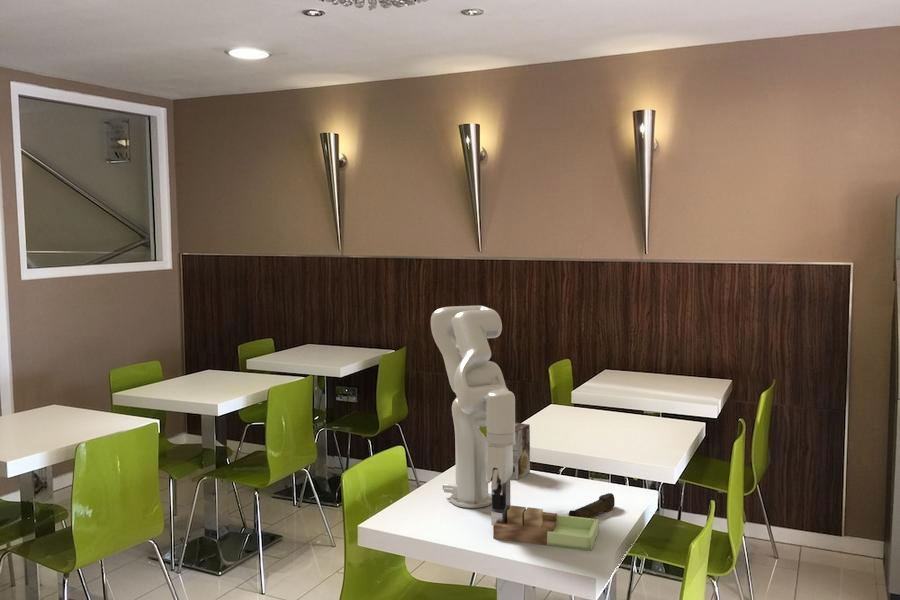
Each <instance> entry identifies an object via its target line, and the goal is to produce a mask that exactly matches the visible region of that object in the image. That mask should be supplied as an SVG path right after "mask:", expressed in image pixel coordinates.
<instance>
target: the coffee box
mask: <svg viewBox="0 0 900 600" xmlns="http://www.w3.org/2000/svg"><path fill="white" fill-rule="evenodd" d="M530 428H531V427H530V424H528V423H522V422H516V421H515V445H512V447H513V473H512V476H511V477H510V480H520V479H521V478H523V477H525V476H526V475H528V474H530V472H531V439H530V438H531V437H530V436H531V435H530V434H531V433H530V432H531V430H530Z"/></svg>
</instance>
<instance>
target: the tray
mask: <svg viewBox="0 0 900 600" xmlns="http://www.w3.org/2000/svg"><path fill="white" fill-rule="evenodd" d="M599 532H600V519H597V518H592V517H591V518H582V517H573V516H569V515H565V514H563V515H562V514H557V526H556V527H555V529H554V531H553V532H550V531H548V532H547V545H546V546H552V547H559V548H560V547H561V548H565V549H566V548H567V549H569V548H570V549H574V550H582V551H583V550H584V551H592V549H593V546H594V544H595V542H596V540H595V539H597V537H598V535H599ZM597 534H598V535H597Z"/></svg>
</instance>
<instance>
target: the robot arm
mask: <svg viewBox="0 0 900 600" xmlns="http://www.w3.org/2000/svg"><path fill="white" fill-rule="evenodd" d="M430 329H431V334H432V337H433V340H434V343H435V344H436V346H437V348H438V349H439V352H440V353H441V355H442V358H443V362H444V366H445V370H446V373H447V377H448V382H449V385H450V387H451V390H452V392H454V393H455V395H456V397H455V399H454V400H453V401H452V405H451V416H452V420H453V426H454V439H455V441H454V442H455V446H454V447H455V483H453V484H450V483H443V484H442V490H443V492H444V493H447V494H448V493H450V494H451V495H450V503H451V504H453V505H455V506H457V507H460V508H467V509H478V508H479V509H480V508H484V507H488V506H490V505H491V509H492V508H493V509H499V510H504V509H505V494H503V491H504V483H505V482H506V481H507V480H508V479H509V478H510V477H511V476H512V473H513V447H512V445H515V422H516V396H515V394H514V393H513V392H512V391H510V390H509V389H508V387H507V385H506V381H505V379H504V375H503V372H502V370H501V368H500V366H499V365H498V364H497V363H496V362H494V361H491V360H490V359H491V358H492V350H491V346H490V344H489V341H488V339H496V338H498V337H499V336H500V335H501V333H502V330H503V324H502V319H501V316H500V315H499V313H498V312H497V311H496V310H495V309H493V308H490V307H487V306H485V305H458V306H457V305H456V306H445V307H440V308H437V309H436V310H434V311H433V312H432V314H431V316H430ZM481 427H482V428H483V427H485V428H486V436H485V434H484V433H483V432H482V431H481V430H480V428H481ZM492 477H493V479H492ZM510 479H511V478H510ZM498 480H500V481H501V482H498ZM489 483H491V485H490V488H491V493H490V492H489ZM498 485H501V489H500V487H498Z"/></svg>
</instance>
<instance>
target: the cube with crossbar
mask: <svg viewBox="0 0 900 600" xmlns="http://www.w3.org/2000/svg"><path fill="white" fill-rule="evenodd" d="M492 479H493V477H492ZM498 482H501V481H500V480H498ZM498 487H500V489H501V485H498ZM503 494H505V509H504V510H499V509H493V508H492V507H491V512H490V516H491V517H490V519H491V520H490V521H491V523H490V524H491V526H493V525H494V523H495V522H498V523H506V524H507V510H508V509H509V508H510V506H511V505H512V504H511V503H512V502H511V478H509V479H508V480H507V481H506V482H505V483H504V491H503Z"/></svg>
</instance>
